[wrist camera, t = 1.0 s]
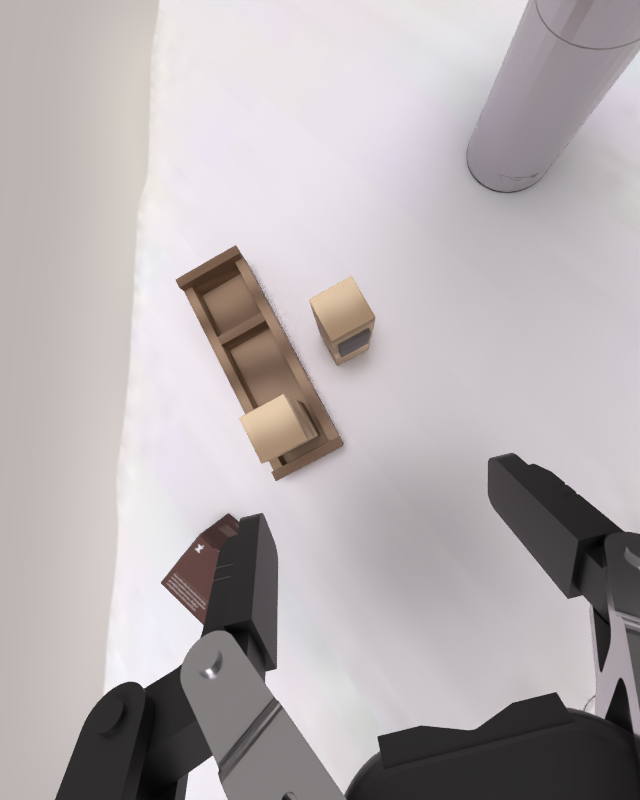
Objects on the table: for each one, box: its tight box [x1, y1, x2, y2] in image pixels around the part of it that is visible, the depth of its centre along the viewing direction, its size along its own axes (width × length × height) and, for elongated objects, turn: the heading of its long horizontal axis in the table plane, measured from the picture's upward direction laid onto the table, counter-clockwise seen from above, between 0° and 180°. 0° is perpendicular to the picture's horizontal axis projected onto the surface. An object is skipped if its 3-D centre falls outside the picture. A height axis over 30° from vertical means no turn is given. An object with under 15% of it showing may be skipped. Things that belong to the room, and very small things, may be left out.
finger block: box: [309, 276, 375, 366], centre depth 32 cm, size 4×4×11 cm
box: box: [161, 514, 239, 625], centre depth 33 cm, size 6×6×7 cm
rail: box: [176, 245, 344, 481], centre depth 32 cm, size 24×8×12 cm, turn 28°
